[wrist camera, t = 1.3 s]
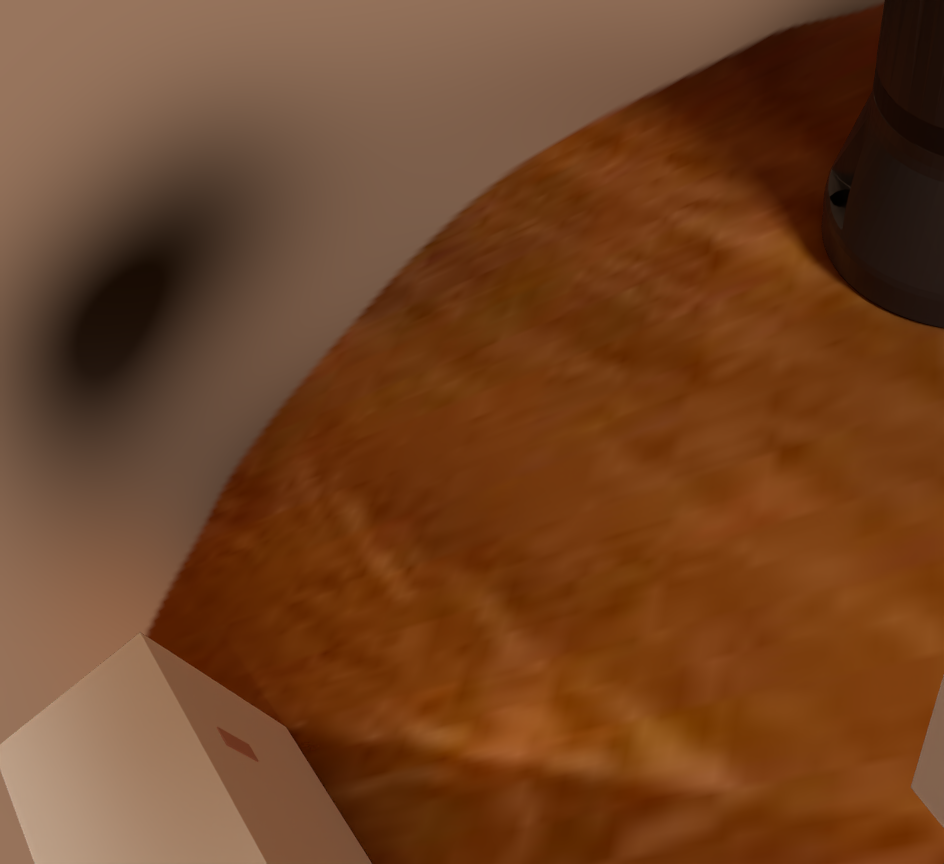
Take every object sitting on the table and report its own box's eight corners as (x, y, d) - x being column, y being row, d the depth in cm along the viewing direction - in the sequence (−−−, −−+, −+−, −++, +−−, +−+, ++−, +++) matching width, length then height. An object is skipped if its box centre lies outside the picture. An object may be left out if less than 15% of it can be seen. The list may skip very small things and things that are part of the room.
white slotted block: (287, 726, 40) (138, 629, 30) (436, 962, 33) (305, 934, 24) (176, 821, 39) (-15, 751, 29) (307, 1086, 32) (113, 1110, 22)
